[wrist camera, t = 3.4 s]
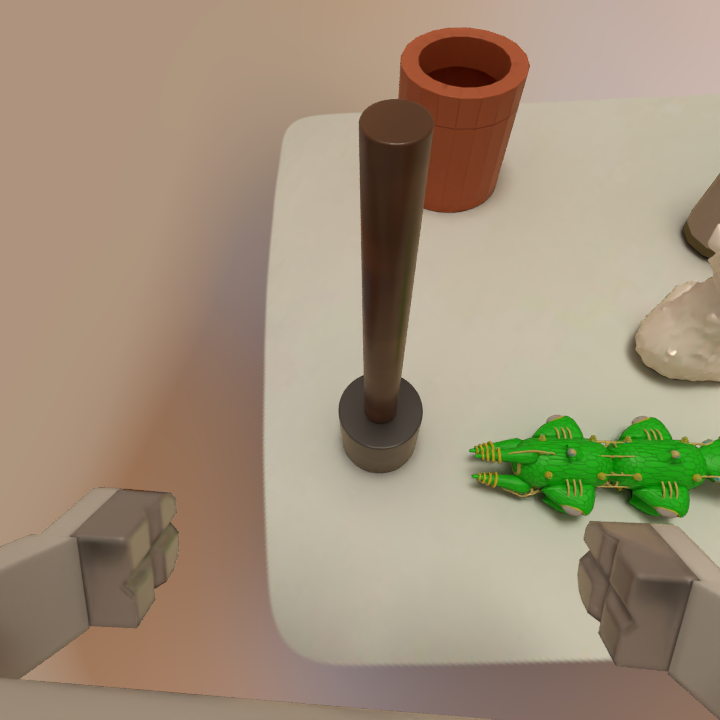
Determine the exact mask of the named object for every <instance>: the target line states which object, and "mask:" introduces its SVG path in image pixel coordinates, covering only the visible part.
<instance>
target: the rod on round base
mask: <svg viewBox="0 0 720 720" xmlns="http://www.w3.org/2000/svg"><path fill="white" fill-rule="evenodd" d="M433 130H434V120H433V117H432V115H431V113H430V112H429V111H428V110H427V109H426V108H425V107H423V106H422V105H420V104H418V103H415V102H412V101H408V100H402V99H390V100H384V101H380V102H377V103H375V104H372V105H371V106H369V107H368V108H367V109H366V110H364V112H363V113H362V115H361V117H360V119H359V158H360V209H361V260H362V311H363V362H364V375H363V376H361V377H359V378H357V379H356V380H354V381H353V382H352V383H351V384H350V385H349V386H348V387H347V388H346V389H345V391H344V392H343V394H342V396H341V399H340V403H339V419H340V426H341V433H342V440H343V446H344V449H345V451H346V453H347V455H348V457H349V458H350V459H351V461H353V462H354V463H355V464H356V465H357V466H359V467H360V468H362V469H364V470H367V471H370V472H375V473H384V472H389V471H393V470H395V469H397V468H399V467H401V466H402V465H403V464H404V463H405V462H406V461H407V460H408V459H409V458H410V456H411V455H412V453H413V450H414V448H415V444H416V440H417V436H418V432H419V428H420V425H421V421H422V415H423V409H422V403H421V399H420V397H419V395H418V393H417V391H416V390H415V389H414V387H413V386H412V385H411V384H410V383H409V382H407V381H406V380H405V379H403V378H401V374H402V367H403V359H404V351H405V344H406V336H407V328H408V321H409V313H410V306H411V298H412V290H413V283H414V275H415V267H416V260H417V252H418V244H419V237H420V229H421V222H422V214H423V206H424V199H425V191H426V183H427V176H428V168H429V161H430V153H431V145H432V138H433Z"/></svg>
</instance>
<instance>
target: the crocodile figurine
mask: <svg viewBox="0 0 720 720" xmlns="http://www.w3.org/2000/svg"><path fill="white" fill-rule="evenodd" d="M596 439H597V438H596V436H594V435H592V436H591V437H590V439H585V438H583V434H582V432H581V430H580V428H579V427H578V425H577V424H576V422H575V421H574V420H573V419H572V418H570V417H568V416H561V415H553V416H551V417H549V418H548V419H547V421H546V424H544V425H543V426H541V427H540V428H539V429H538V430H537V431H536V432H535V434H534V435H533V437H532V438H528V439H526V440H521V439H518V438H515V439H509V440H505V441H501V442H496V443H492V442H491V441H489V442H487V444H486V443H483V444H482V445H481V444H479V445H478V447H477V446H475V447H474V448H473V449H470V450H469V451H470V452H475V454H476V455H475V457H476V458H482V460H483V461H484V459H486V460H487V462H489V459H490V460H492V462H493V463H495V460H497V461H498V463H499V464H501V461H505V462H511V468H512V470H513V472H514V474H515V475H498V473H497V472H493V474H491V472H488V473H487V475H486V473H485V472H483V473H482V475H481V473H478V475H472V477H473V478H475V479H477V481H480V480H481V483H482V484H484V483H485V482H486V485H490V484H491V487H492V488H495V487H496V486H499V487H502V488H503V489H504V490H506V491H510V492H511V493H513V494H516V495H518V496H520V497H526V496H529V495H534V494H536V493H539V492H543V493H544V494H545V495H546V497H545V498H543V499H542V500H543V501H544V502H545V503H547V504H548V505H549V506H551V507H552V508H554V509H556V510H557V511H560V512H562V513H565V514H570V515H572V516H580V515H585V516H586V515H588V514H590V512H591V511H592V509H593V506H594V502H595V487H614V488H615V487H617V490H619V491H622V489H623V488H626V489H632V499H631V500H629V503H631V504H632V505H634V506H635V507H636V508H638V509H640V510H641V511H643V512H645V513H647V514H650V515H654V516H661V515H662V516H664V517H667V518H675V517H680V518H681V517H684V516H685V515H686V513H687V512H688V509H689V501H690V498H689V489H693V488H696V487H698V486H699V485H701V484H702V483H703V482H704V480H705V479H706V478H707V479H709V480H710V481H712V482H714V483H719V484H720V437H718V439H717V440H715V441H713V440H710V439H708V440H706V441H704V442H702V443H689V442H688V441H689V440H688V438H687V437H683V438H682V440H672V437H671V435H670V433H669V431H668V430H667V429H666V427H665V426H664V425H663V423H662V422H660V421H659V420H658V419H656V418H653V417H649V418H648V417H645V416H640V417H637V418H635V419H634V420H633V421H632V425H631V426H630V427H628V428H627V429H626V430H625V431H624V432H623V434H622V435H621V436H620V438H619V440H618V441H597V440H596ZM600 443H606V444H605V446H603V445H602V444H600ZM609 443H611V444H609ZM695 445H700V446H701V447H700V448H697V447H696V446H695ZM607 446H608V447H607ZM606 447H607V448H606ZM608 480H609V481H608ZM610 481H611V482H612V483H614V484H609V483H610ZM601 485H609V486H601ZM611 485H615V486H611ZM531 486H532V489H531ZM540 487H542V488H543V489H541V491H538V490H539V488H540ZM505 488H506V489H505ZM533 488H535V489H537V490H536V491H534V490H533ZM507 489H508V490H507ZM529 490H531V492H530V493H529V494H528V493H527V492H529ZM512 491H514V492H512ZM532 491H533V492H534V493H532ZM517 492H518V493H517ZM519 494H526V495H519Z"/></svg>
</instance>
